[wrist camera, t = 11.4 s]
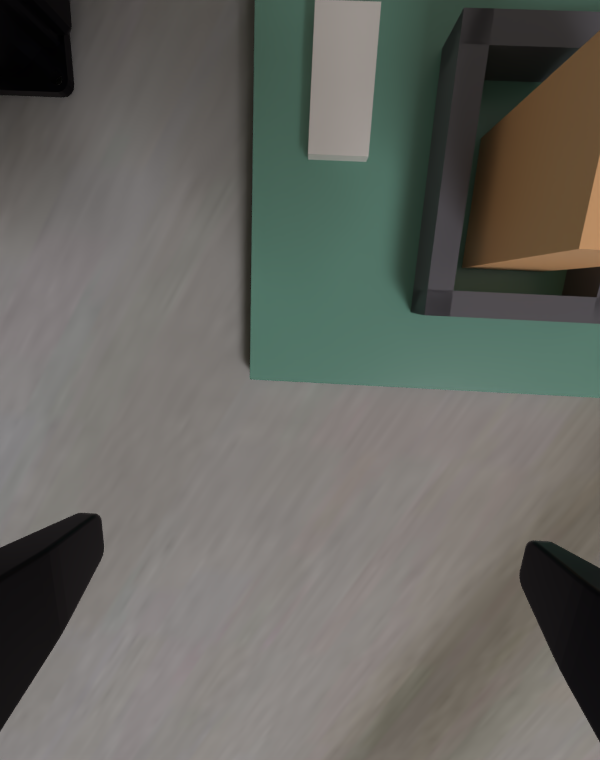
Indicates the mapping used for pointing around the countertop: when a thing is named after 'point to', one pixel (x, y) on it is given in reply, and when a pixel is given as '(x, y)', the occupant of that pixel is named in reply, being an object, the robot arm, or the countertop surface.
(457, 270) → the board
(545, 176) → the keyed plug
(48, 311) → the countertop surface
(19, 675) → the robot arm
